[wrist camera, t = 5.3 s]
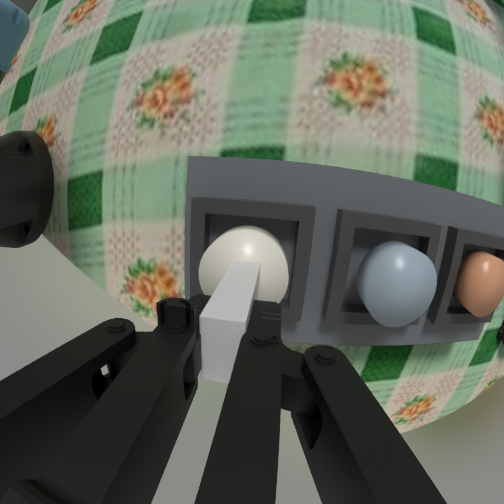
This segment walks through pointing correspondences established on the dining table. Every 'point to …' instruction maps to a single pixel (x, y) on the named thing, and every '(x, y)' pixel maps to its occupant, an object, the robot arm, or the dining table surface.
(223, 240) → the ivory button
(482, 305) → the terracotta button
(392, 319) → the slate button
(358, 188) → the console
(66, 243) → the dining table surface
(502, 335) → the rock
